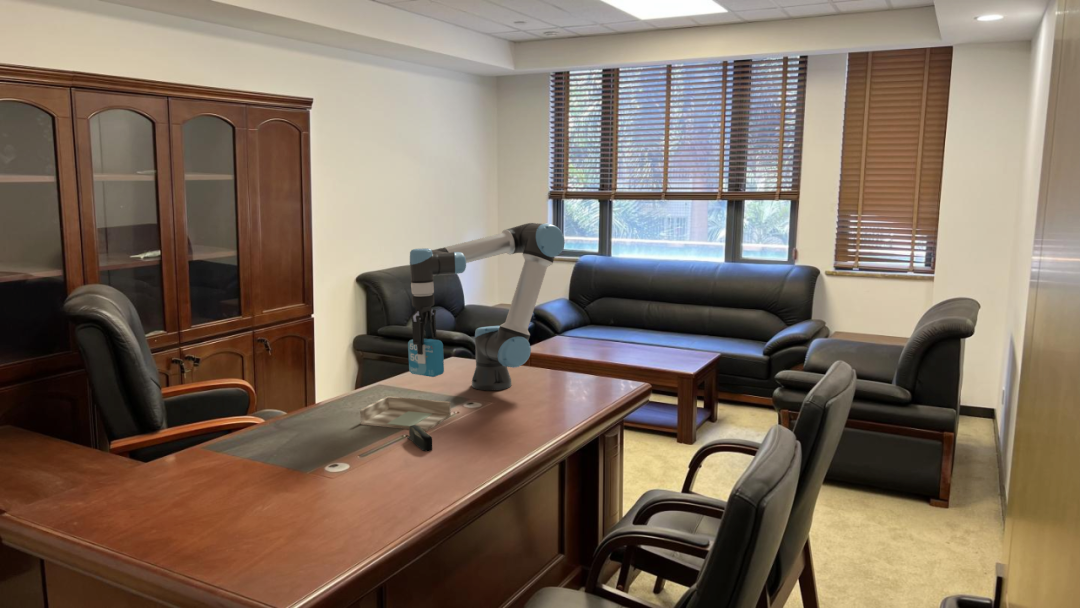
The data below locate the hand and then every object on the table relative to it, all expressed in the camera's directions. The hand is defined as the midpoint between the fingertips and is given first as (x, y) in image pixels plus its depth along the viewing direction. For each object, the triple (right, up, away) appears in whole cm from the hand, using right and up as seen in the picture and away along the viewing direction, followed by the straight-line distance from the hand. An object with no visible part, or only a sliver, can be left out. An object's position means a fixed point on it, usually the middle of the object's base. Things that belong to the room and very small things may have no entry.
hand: (426, 361), depth 266 cm
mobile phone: (+3, -23, -35) cm, 42 cm away
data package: (0, -5, +1) cm, 5 cm away
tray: (-5, -19, -11) cm, 22 cm away
